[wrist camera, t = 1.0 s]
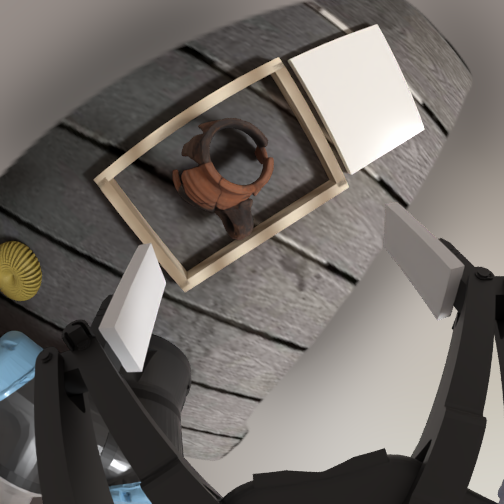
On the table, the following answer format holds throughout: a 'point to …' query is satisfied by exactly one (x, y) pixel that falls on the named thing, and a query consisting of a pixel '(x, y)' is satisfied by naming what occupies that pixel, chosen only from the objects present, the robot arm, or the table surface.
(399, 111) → the ceramic tile
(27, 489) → the robot arm
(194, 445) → the table surface
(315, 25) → the table surface
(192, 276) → the frame
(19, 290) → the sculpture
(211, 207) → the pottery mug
